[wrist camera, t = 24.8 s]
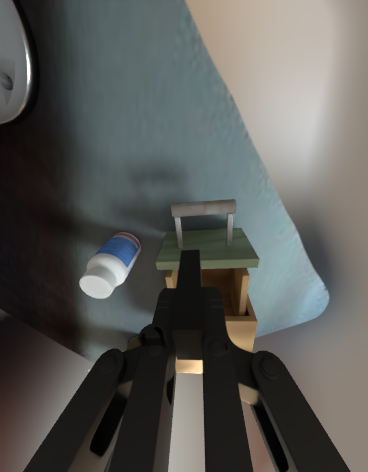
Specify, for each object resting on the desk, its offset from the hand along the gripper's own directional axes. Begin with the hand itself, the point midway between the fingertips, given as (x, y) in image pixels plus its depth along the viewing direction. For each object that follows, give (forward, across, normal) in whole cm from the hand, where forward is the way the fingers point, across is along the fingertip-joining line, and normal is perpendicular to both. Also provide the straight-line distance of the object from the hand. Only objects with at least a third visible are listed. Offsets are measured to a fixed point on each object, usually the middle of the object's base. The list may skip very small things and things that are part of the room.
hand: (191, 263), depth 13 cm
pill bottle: (+12, -12, -5) cm, 18 cm away
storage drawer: (+11, +1, -6) cm, 13 cm away
